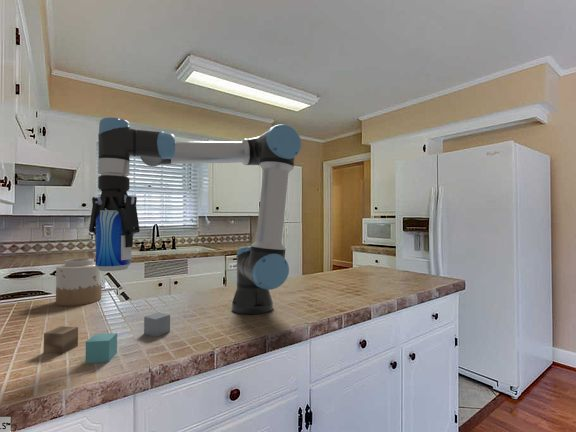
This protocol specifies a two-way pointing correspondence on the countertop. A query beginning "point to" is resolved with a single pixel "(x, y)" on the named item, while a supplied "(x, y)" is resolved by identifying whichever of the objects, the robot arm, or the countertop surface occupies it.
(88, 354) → the teal cube
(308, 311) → the countertop surface
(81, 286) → the vase
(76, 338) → the walnut cube
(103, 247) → the beer can
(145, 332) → the grey cube
